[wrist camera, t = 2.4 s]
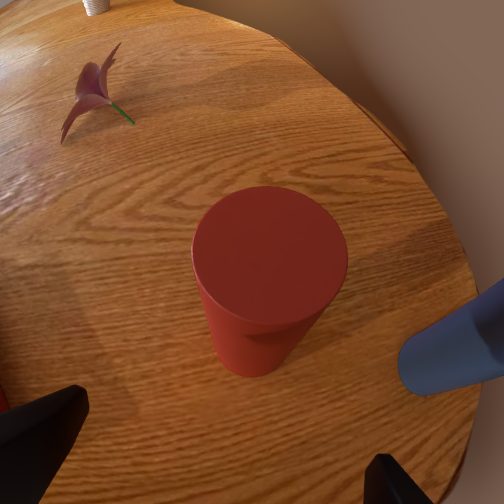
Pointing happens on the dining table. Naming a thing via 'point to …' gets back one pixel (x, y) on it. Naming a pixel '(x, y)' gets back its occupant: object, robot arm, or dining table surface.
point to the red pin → (265, 273)
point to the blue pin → (457, 347)
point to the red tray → (3, 402)
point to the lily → (91, 91)
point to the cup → (96, 6)
